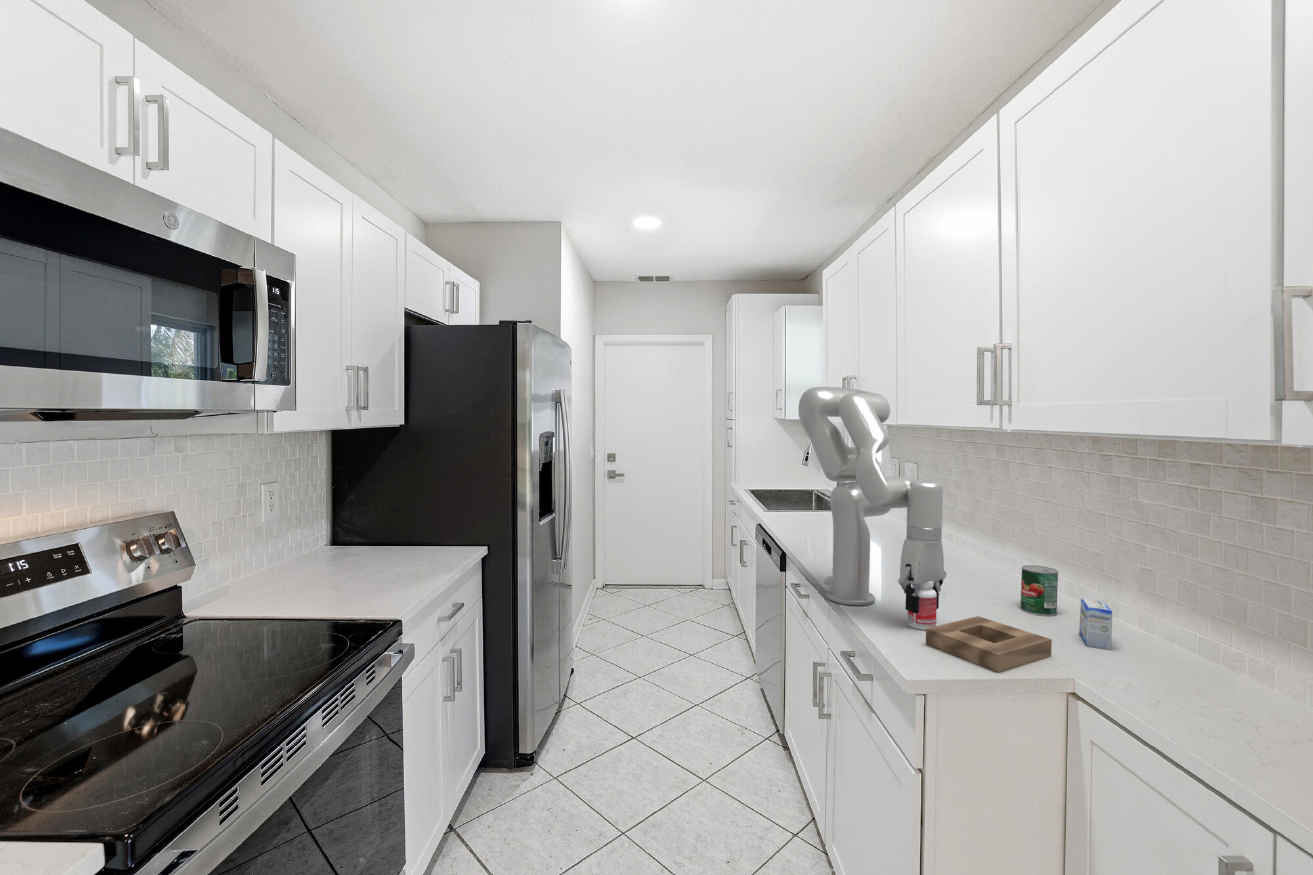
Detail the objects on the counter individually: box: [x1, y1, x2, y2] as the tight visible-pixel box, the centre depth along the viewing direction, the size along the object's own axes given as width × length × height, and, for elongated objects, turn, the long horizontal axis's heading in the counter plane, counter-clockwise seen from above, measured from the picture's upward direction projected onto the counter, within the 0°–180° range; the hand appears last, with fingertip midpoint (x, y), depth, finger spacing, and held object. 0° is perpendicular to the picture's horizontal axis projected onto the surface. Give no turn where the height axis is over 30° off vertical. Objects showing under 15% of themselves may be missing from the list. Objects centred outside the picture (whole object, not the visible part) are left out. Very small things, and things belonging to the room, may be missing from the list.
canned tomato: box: [1019, 564, 1059, 617], centre depth 151 cm, size 8×8×11 cm
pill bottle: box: [907, 579, 937, 631], centre depth 139 cm, size 6×6×11 cm
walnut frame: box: [925, 615, 1053, 674], centre depth 125 cm, size 16×18×4 cm
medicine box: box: [1078, 597, 1113, 650], centre depth 130 cm, size 8×4×9 cm, turn 154°
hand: (922, 608), depth 139 cm, fingers closed on pill bottle, 6 cm apart
